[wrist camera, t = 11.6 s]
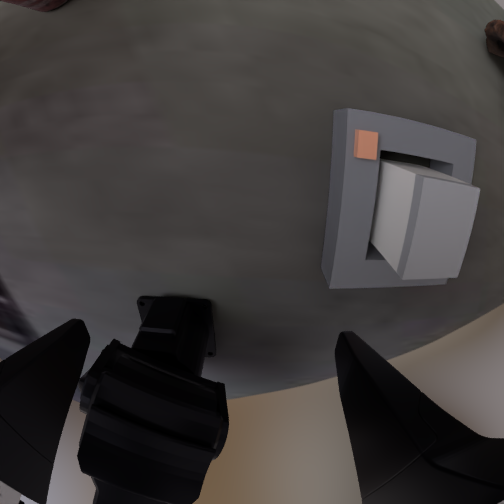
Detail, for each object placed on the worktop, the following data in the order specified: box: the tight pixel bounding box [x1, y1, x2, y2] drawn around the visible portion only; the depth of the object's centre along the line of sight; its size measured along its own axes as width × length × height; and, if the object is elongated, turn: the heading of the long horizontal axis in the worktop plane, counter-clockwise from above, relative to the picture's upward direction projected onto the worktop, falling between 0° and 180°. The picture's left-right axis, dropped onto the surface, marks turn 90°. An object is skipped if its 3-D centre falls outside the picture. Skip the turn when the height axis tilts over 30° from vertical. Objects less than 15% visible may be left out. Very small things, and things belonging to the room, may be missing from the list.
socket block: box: [321, 108, 476, 289], centre depth 17 cm, size 12×10×4 cm
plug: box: [369, 159, 480, 280], centre depth 15 cm, size 6×4×7 cm
